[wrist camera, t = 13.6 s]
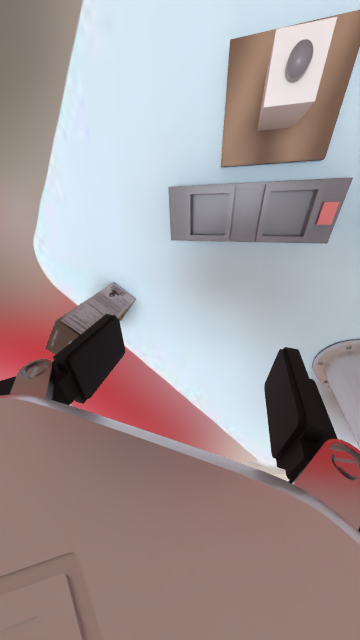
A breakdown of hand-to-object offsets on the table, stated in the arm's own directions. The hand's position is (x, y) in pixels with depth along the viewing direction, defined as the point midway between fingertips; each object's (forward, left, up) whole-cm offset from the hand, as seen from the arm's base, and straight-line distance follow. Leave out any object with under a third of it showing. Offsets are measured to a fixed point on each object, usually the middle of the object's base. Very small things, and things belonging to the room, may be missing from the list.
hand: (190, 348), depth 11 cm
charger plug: (-5, -16, -24) cm, 29 cm away
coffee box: (+23, +13, -25) cm, 37 cm away
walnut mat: (-5, -16, -25) cm, 30 cm away
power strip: (-3, -5, -25) cm, 26 cm away
